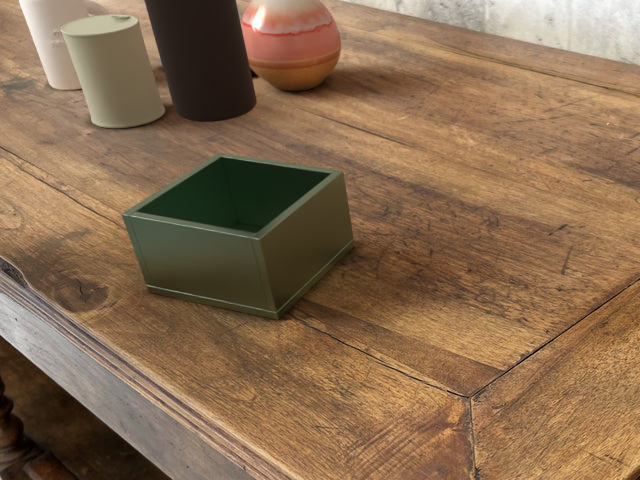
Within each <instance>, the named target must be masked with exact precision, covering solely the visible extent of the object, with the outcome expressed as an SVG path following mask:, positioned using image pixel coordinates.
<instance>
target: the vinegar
mask: <svg viewBox="0 0 640 480" xmlns="http://www.w3.org/2000/svg"><path fill="white" fill-rule="evenodd" d="M143 1H144V4H145V7H146V12H147V15H148V19H149V23H150V26H151V29H152V33H153V37H154V41H155V44H156V48H157V51H158V54H159V59H160V63H161V66H162V70H163V72H164V77H165V81H166V84H167V89H168V91H169V95H170V98H171V102H172V105H173V106H172V107H173V109H174V112H175V114H176V115H177V116H179V117H180V118H182V119H183V120H186V121H190V122H197V123H214V122H215V123H216V122H223V121H224V122H225V121H229V120H233V119H237V118H240V117H242V116H245V115H247V114H249V113H250V112H251V111H253V110H254V109H255V107H256V106H257V103H258V99H257V95H256V90H255V86H254V80H253V75H251V71H250V66H249V61H248V56H247V51H246V47H245V42H244V37H243V32H242V27H241V18H240V13H239V8H238V3H237V0H143Z"/></svg>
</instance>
